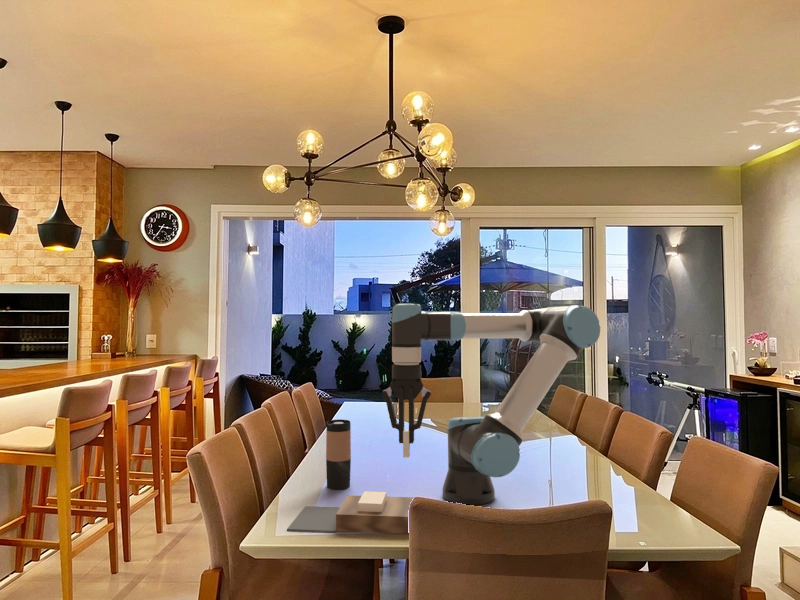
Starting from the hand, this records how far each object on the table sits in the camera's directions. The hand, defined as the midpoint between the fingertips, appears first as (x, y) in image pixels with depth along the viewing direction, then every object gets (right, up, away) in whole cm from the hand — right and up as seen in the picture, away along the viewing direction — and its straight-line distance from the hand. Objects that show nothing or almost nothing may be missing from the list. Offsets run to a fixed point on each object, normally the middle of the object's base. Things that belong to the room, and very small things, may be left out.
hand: (406, 455), depth 132 cm
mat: (-23, -17, +2) cm, 28 cm away
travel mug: (-21, -18, +29) cm, 40 cm away
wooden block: (-7, -17, 0) cm, 18 cm away
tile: (-9, -13, 0) cm, 15 cm away
